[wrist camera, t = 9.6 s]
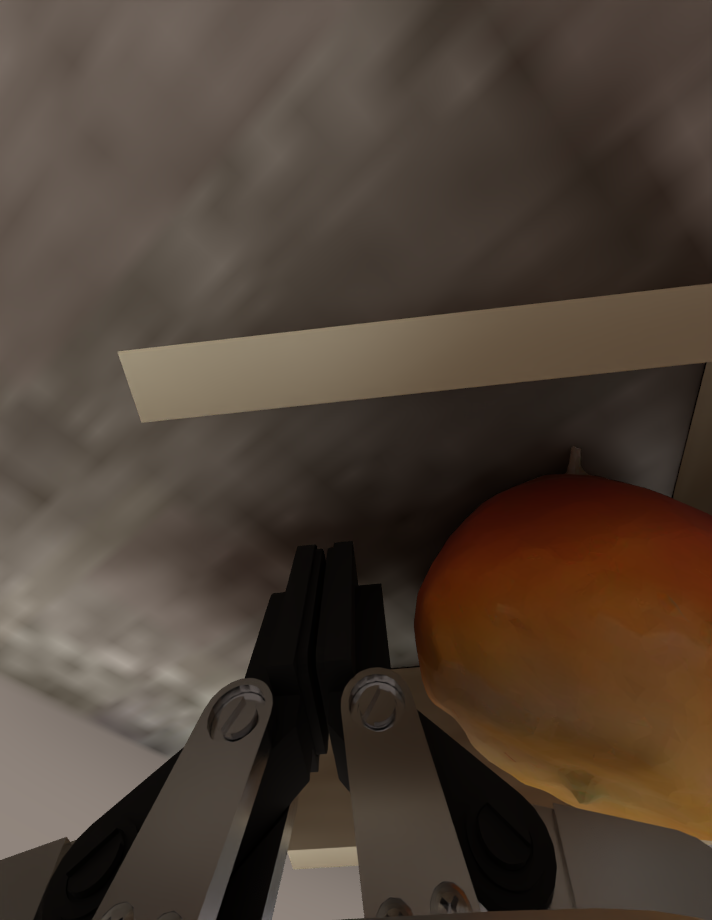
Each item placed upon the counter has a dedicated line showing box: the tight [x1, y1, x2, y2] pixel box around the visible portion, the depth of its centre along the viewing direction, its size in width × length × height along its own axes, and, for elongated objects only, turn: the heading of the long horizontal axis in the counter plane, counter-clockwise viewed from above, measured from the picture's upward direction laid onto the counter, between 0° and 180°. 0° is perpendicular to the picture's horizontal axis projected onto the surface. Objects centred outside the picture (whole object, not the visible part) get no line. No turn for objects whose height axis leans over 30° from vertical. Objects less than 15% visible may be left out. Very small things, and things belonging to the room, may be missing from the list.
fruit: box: [414, 446, 712, 841], centre depth 9 cm, size 8×8×8 cm
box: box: [118, 283, 712, 869], centre depth 9 cm, size 14×14×5 cm
